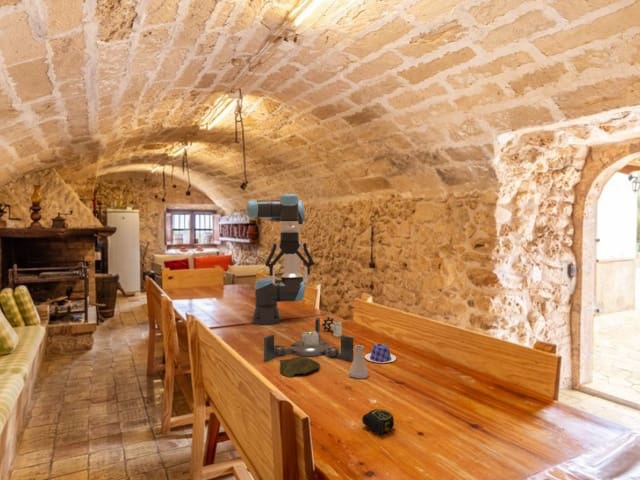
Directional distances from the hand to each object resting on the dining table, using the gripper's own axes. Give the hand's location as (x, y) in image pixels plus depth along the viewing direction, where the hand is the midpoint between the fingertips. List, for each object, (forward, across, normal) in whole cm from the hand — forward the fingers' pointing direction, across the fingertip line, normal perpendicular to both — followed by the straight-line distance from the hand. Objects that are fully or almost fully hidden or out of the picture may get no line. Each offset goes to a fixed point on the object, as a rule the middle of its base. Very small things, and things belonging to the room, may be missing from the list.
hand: (289, 282), depth 167 cm
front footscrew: (+27, -8, -10) cm, 30 cm away
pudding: (+28, +32, -21) cm, 47 cm away
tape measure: (+27, +12, -72) cm, 78 cm away
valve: (+28, +23, +17) cm, 40 cm away
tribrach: (+27, +9, -4) cm, 29 cm away
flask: (+27, +18, -36) cm, 49 cm away
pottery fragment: (+28, -1, -25) cm, 37 cm away
